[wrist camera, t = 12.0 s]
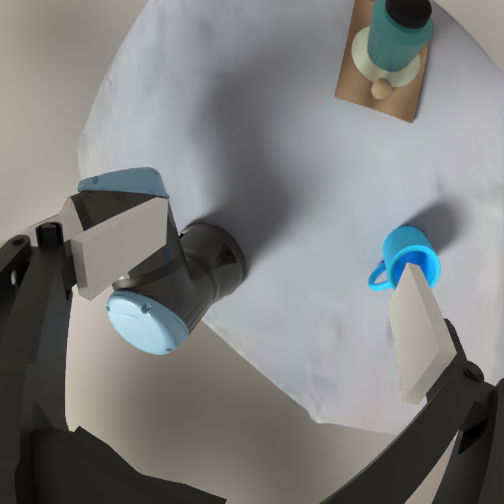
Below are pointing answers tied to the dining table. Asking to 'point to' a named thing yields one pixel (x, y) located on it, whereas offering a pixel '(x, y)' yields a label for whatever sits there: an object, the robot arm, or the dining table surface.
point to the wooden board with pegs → (377, 73)
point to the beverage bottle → (398, 32)
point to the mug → (406, 257)
